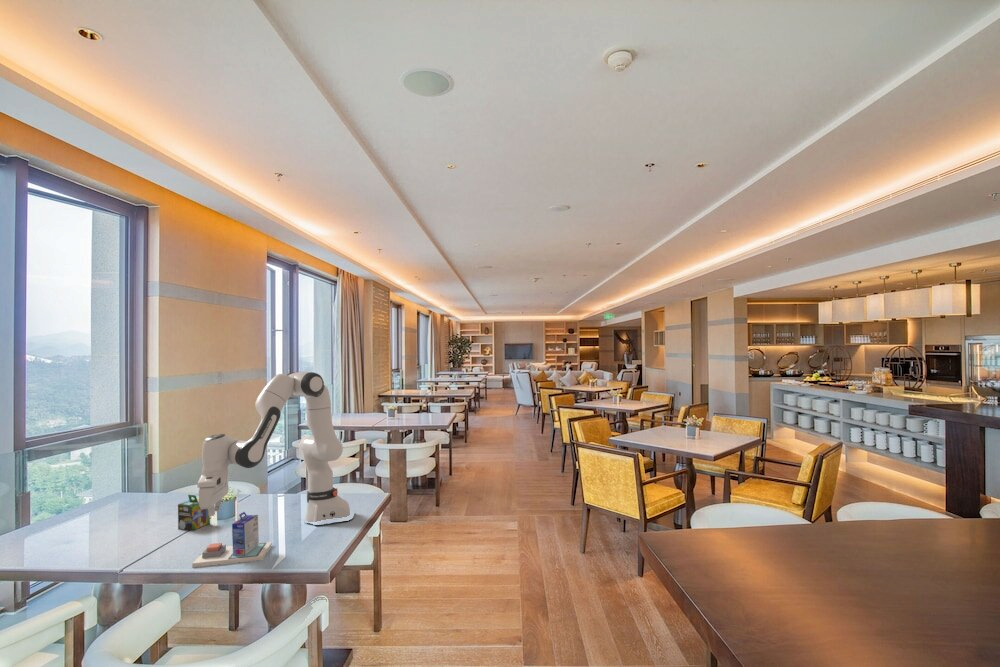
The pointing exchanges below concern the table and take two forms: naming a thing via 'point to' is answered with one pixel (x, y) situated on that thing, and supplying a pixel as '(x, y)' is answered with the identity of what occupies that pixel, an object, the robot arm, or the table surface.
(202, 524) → the chalk box
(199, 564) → the picture board
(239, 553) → the ink cartridge box
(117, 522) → the table surface
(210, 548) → the button
